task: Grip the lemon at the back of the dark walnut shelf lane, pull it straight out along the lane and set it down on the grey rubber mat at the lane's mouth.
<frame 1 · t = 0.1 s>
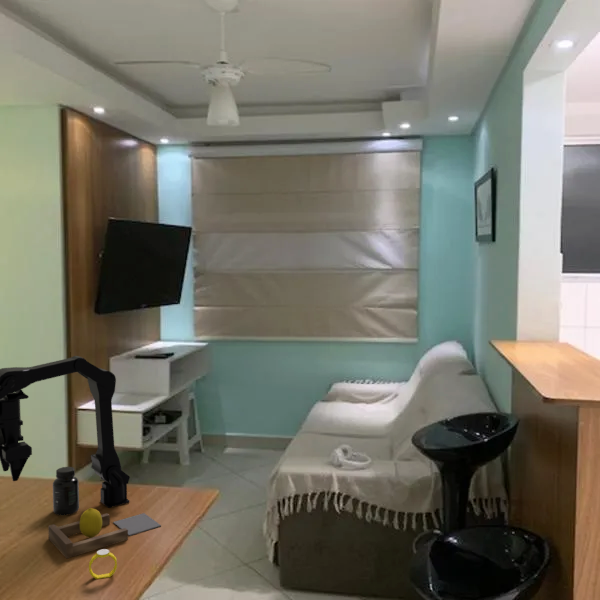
hand: (10, 475, 161), 15 cm above the table, tool pointing down, fingers open, 9 cm apart
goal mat: (136, 524, 165), on the table
supplement bottle: (66, 511, 174), on the table
lemon: (91, 539, 157), resting in shelf lane
watch: (103, 577, 139), on the table
shelf lane: (91, 538, 157), on the table
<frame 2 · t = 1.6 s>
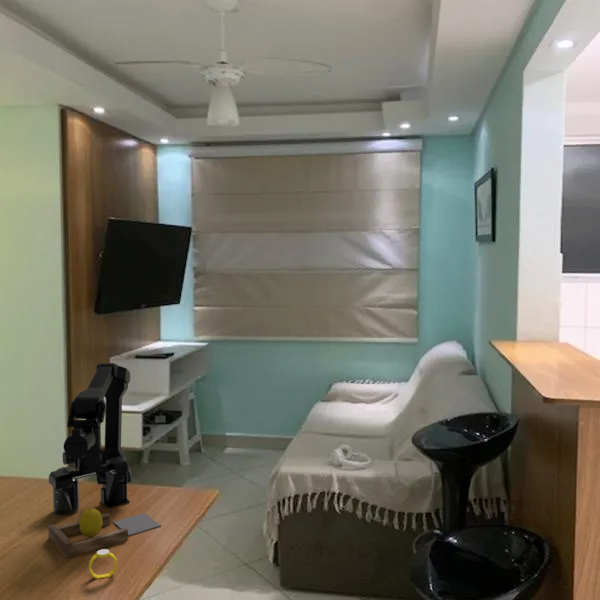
hand: (90, 504, 157), 9 cm above the table, tool pointing down, fingers open, 9 cm apart
nothing on the table moved.
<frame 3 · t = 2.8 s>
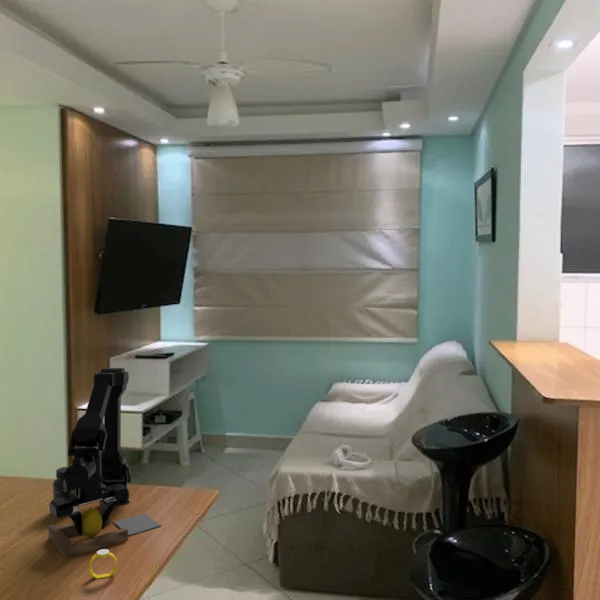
hand: (91, 532, 157), 2 cm above the table, tool pointing down, fingers closed on lemon, 5 cm apart
lemon: (91, 539, 157), resting in shelf lane, touching gripper
everything else where it was.
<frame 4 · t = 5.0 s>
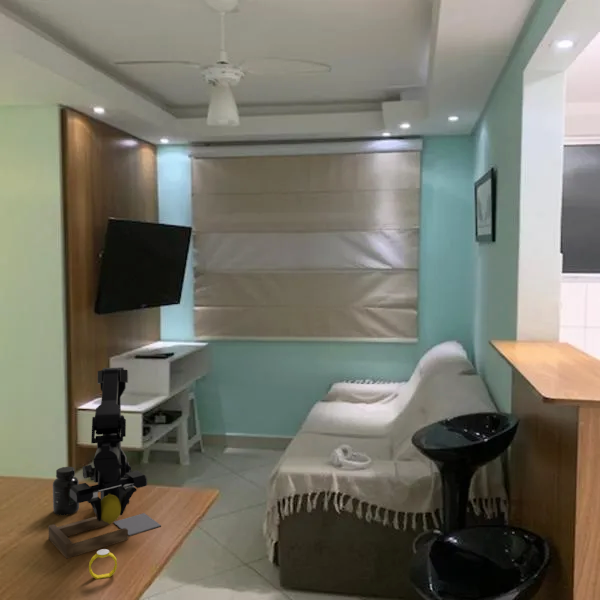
hand: (110, 517, 160), 4 cm above the table, tool pointing down, fingers closed on lemon, 5 cm apart
lemon: (110, 524, 160), point 2 cm above the table, touching gripper
everything else where it was.
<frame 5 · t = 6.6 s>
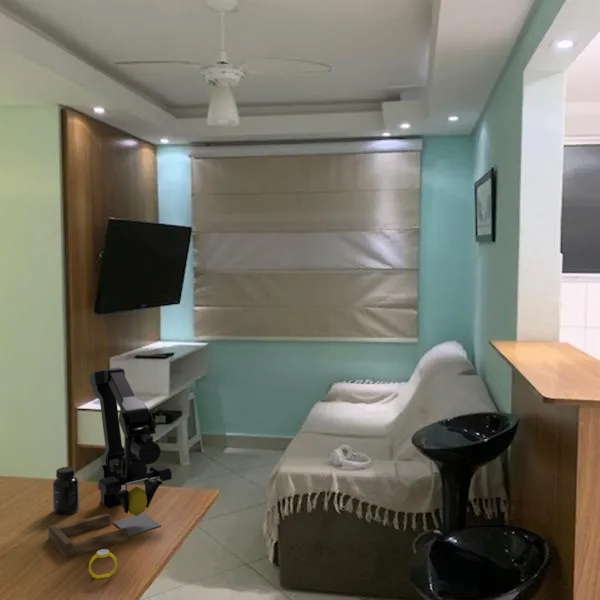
hand: (136, 510, 165), 4 cm above the table, tool pointing down, fingers closed on lemon, 5 cm apart
lemon: (136, 516, 165), point 2 cm above the table, touching gripper
everything else where it was.
when the fingers open (3 cm above the table, at t = 7.4 s): lemon stays where it is, resting on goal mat.
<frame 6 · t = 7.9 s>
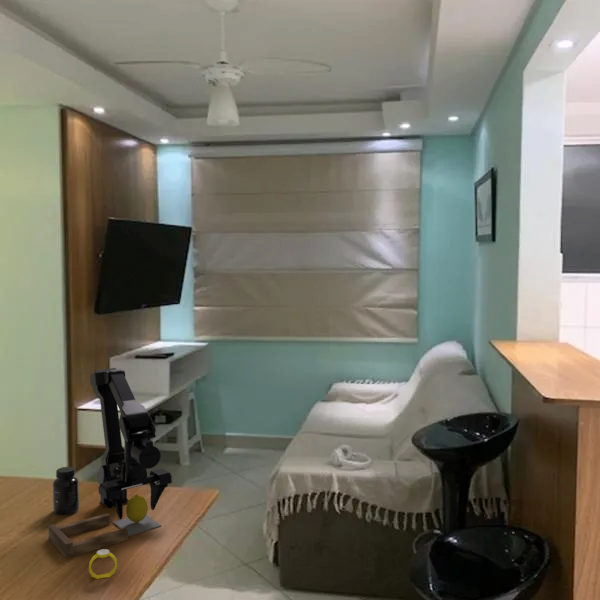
hand: (136, 514, 165), 3 cm above the table, tool pointing down, fingers open, 9 cm apart
lemon: (136, 524, 165), resting on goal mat
everything else where it was.
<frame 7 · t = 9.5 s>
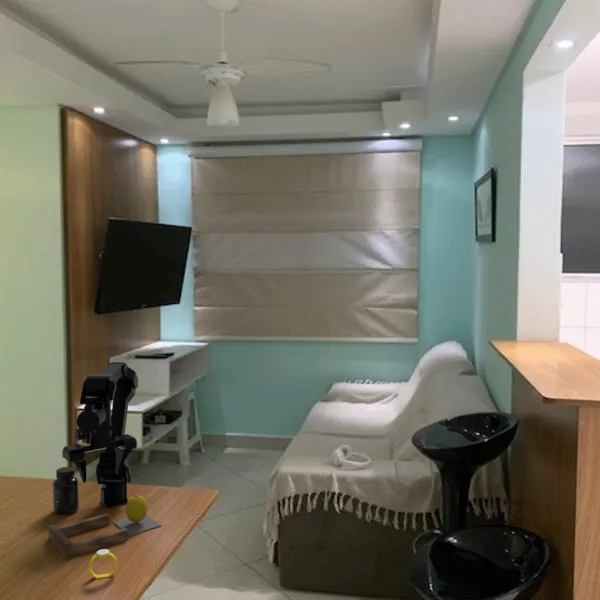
hand: (101, 478, 166), 12 cm above the table, tool pointing down, fingers open, 9 cm apart
nothing on the table moved.
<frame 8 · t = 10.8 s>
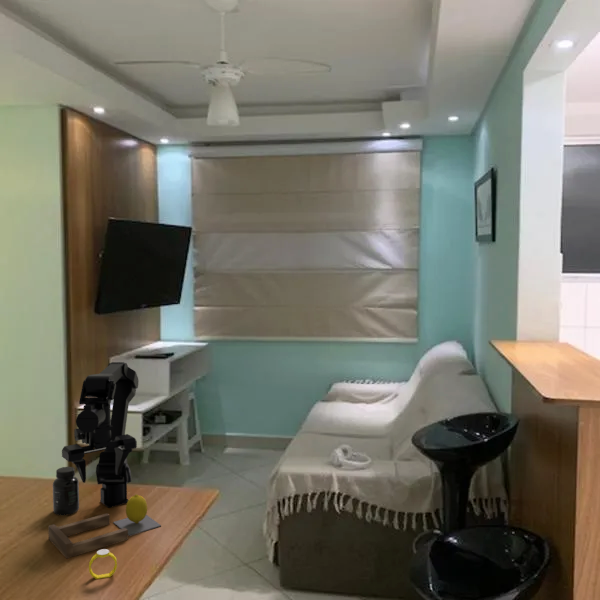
hand: (100, 478, 166), 12 cm above the table, tool pointing down, fingers open, 9 cm apart
nothing on the table moved.
at the end: lemon inside the target area (0.1 cm from its centre), resting on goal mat; the gripper is holding nothing; lemon moved 12.5 cm from its start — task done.
